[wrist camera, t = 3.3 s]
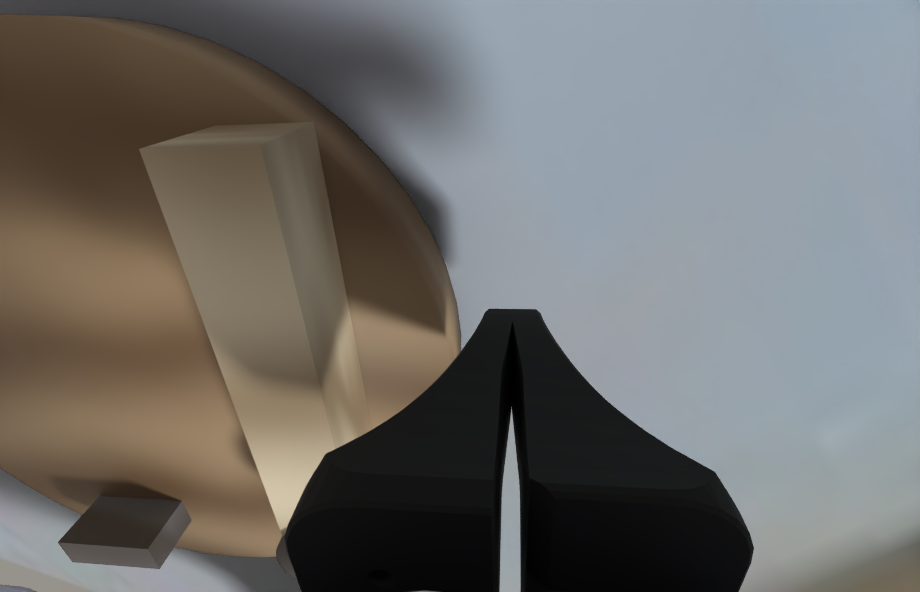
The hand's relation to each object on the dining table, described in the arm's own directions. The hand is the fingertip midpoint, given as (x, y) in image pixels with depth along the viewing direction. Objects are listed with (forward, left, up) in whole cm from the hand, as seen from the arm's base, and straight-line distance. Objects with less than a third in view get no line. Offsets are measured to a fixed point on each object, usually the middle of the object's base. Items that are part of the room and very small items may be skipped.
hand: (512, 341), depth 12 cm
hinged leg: (-1, +6, -1) cm, 6 cm away
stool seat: (-2, +12, -3) cm, 12 cm away
